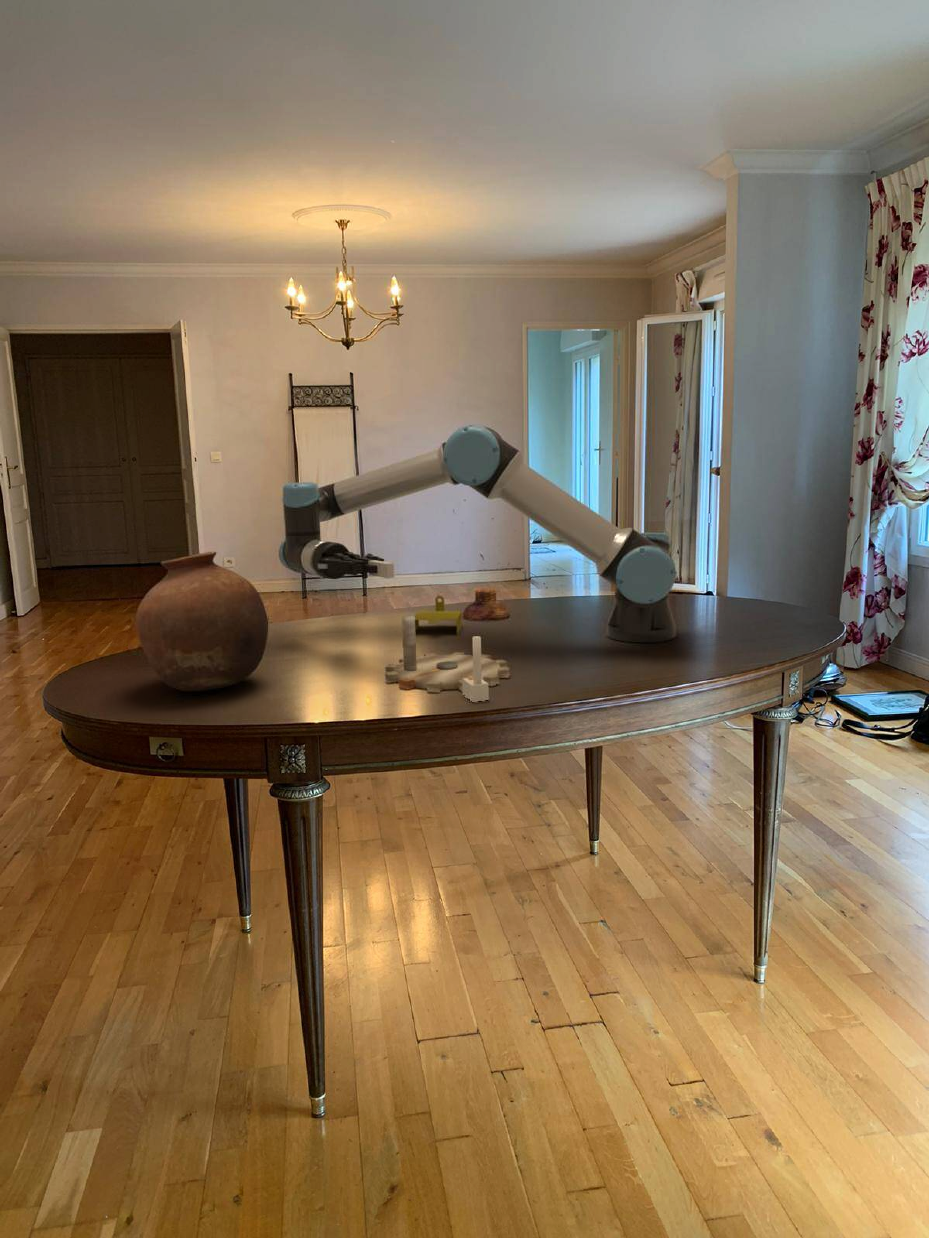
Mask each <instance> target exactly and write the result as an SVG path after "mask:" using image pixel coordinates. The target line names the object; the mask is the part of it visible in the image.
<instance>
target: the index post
mask: <svg viewBox="0 0 929 1238" xmlns="http://www.w3.org/2000/svg"><path fill="white" fill-rule="evenodd" d="M481 655H482V637H481V636H478V635H477V636H472V656H473V676H469V677H468V678H462V686H463V691H462V696H463V695H465V696H464V697H465V699H467V698H468V699H470V701H469V702H471V701H472V702H474V703H479V702H478V701H482V702H486V701H485V700H489V701H490V699H489V698H490V696H489V695H490V694H489V687H490V686H488V683H487V682H485V681H484V680H483V679H482V674H481ZM468 699H467V700H468ZM472 702H471V703H472Z"/></svg>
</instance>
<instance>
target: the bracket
mask: <svg viewBox="0 0 929 1238" xmlns="http://www.w3.org/2000/svg"><path fill="white" fill-rule="evenodd" d="M439 599H440V600H441V601H438V600H439ZM434 601H435V611H434V610H431V611H430V610H428V611H427V610H426V611H425V610H418V611H417V612H416V613H415V615H414V617H415V630H416V631H417V629H418V628H419V627H420V621H427V624H430V625H433V624H437V623H438V622H439V621H456V635H457V634H459V633H460V631H459V630H461V628H462V626H463V625H462V623H463V622H462V621H463V620H462V617H463V616H462V610H445V598H444V597H443V596H442V595H438V596H437V597H435V600H434ZM418 626H419V627H418ZM417 627H418V628H417Z"/></svg>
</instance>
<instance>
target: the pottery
mask: <svg viewBox="0 0 929 1238" xmlns="http://www.w3.org/2000/svg"><path fill="white" fill-rule="evenodd" d="M216 555H217V551H215V550H214V551H207V552H203V553H202V552H201V553H195V554H192V555H187V556H183V557H177V558H175V559H169V560H163V561H161V562H160V564H161V566H162V567H163V568H165V569H166V570H167V574H166V575H165V576H164V577H163V578H162V579H161V580H160V581H159V582H157V583H156V584H155V585H154V586H153V587H152V588H150V590H149V591H148V592H147V593H146V594H145V596H144V597H143V599H142V600H141V602H140V603H139V606H138V608H137V610H136V614H135V626H136V632H137V635H138V636H137V637H138V639H139V642H140V644H141V646H142V650H143V652H144V654H145V656H146V659H147V660H148V662H149V664H150V666H151V668H152V669H153V671H154V672H155V673H156V675H157V676H158V677H159V678H160V680H161V681H162V682H164V683H165V684H166V685H168V686H169V687H171V688H173V689H174V690H175V689H176V690H178V691H183V692H203V691H210V690H217V689H223V688H226V687H230V686H233V685H236V684H237V683H240V682H241V681H243V680H245V679H247V678H248V677H249V676H250V675H252V674H253V673H254V672H255V671H256V669H257V668H258V666H259V665H260V664H261V661H262V660H263V656H264V654H265V650H266V645H267V640H268V634H269V618H268V615H267V611H266V607H265V604H264V602H263V600H262V598H261V595H260V594H259V592H258V590H257V589H256V588H255V586H254V585H253V584H252V583H251V582H250V581H249V579H247V578H245V577H243V576H242V575H240V574H239V573H238V572H236V571H233V570H231V569H229V568H227V567H223V566H221V565H218V564H216V563H215V561H214V558H215V557H216Z"/></svg>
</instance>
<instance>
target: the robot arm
mask: <svg viewBox="0 0 929 1238" xmlns="http://www.w3.org/2000/svg"><path fill="white" fill-rule="evenodd" d="M447 483H449V484H451V485H453V486H457V485H460V484H462V485H464V486H468V487H470V488H472V490H475V491H476V492H477V493H479V494H480V495H482V496H483V497H484V498H486V499H488V500H493V499H500V500H502V501H504V502H505V503H507V504H508V505H509V506H510V507H512V508H514V509H515V510H517V511H518V512H519V513H521V514H523V515H524V516H526V517H527V518H528V519H530V520H531V521H533V522H534V523H536V524H537V525H538V526H540V527H541V528H542V529H544V530H546V531H547V532H549V533H550V534H552V535H553V536H555V537H556V538H558V540H560V541H562V542H563V543H564V544H566V545H567V546H569V547H570V548H572V549H574V550H575V551H577V552H578V553H579V554H581V555H583V556H584V557H585V558H587V559H588V560H589V561H591V562H592V563H593V564H595V566H596V572H597V575H599V576H600V577H602V578H603V579H604V580H606V581H607V582H608V583H609V584H611V585H612V586H614V602H613V605H612V608H611V611H610V615H609V617H608V619H607V620H608V621H607V623H606V636H607V638H609V639H612V640H616V641H620V642H621V641H622V642H628V643H660V642H666V641H670V640H673V639H674V638H675V637H676V631H677V630H676V623H675V620H674V617H673V613H672V611H671V607H670V604H669V593H670V591H671V590H672V588H673V587H674V584H675V581H676V575H677V570H676V564H675V562H674V559H673V558H672V556H671V555H670V547H671V542H670V536H669V534H667V532H639V531H637V530H635V529H634V528H633V527H626V528H625V527H624V528H619V527H618V526H616V525H615V524H613V523H612V522H610V521H609V520H608V519H606V518H604V516H602V515H600V514H598V513H597V512H595V510H593V509H591V508H590V507H588V506H587V505H585V504H584V503H582V502H581V501H579V500H578V499H577V498H575V497H574V496H573V495H571V494H569V493H568V492H566V491H565V490H563V489H562V488H560V487H559V486H558V485H557V484H555V483H554V482H551V480H549V479H547V478H546V477H544V476H543V475H542V474H540V473H539V472H538V471H536V470H535V469H533V468H531V467H530V465H527V464H525V463H524V461H523V456H522V452H521V451H520V450H519V449H518V448H516V447H514V446H513V445H511V444H510V443H508V442H507V441H506V440H504V439H503V438H502V437H501V435H500V434H499V433H498V432H497V431H495V430H494V429H493V428H490V427H487V426H482V425H479V424H467V425H464V426H462V427H459V428H458V429H456V430H455V431H454V432H453V433H451V435H450V436H449V437H448V438H447V440H446V442H442V443H440V446H439V447H438V449H436V450H433V451H430V452H426V453H422V454H420V455H417V456H414V457H410V458H407V459H403V460H402V461H398V462H395V463H392V464H390V465H386V466H383V467H380V468H377V469H373V470H371V471H367V472H363V473H361V474H357V475H356V476H353V477H352V476H351V477H348V478H346V479H343V480H339V481H337V482H333V483H330V484H326V485H324V486H321V487H319V486H318V485H317V484H316V483H315V482H312V481H311V482H309V481H308V482H302V481H301V482H288V483H285V484H284V485H283V486H282V504H283V505H282V507H283V518H284V529H285V530H284V531H285V532H284V533H285V535H284V538H285V539H284V540H283V541H282V542H281V543H280V546H279V549H278V559H279V561H280V563H281V565H283V567H285V568H286V569H288V570H290V571H293V572H295V573H298V574H306V575H307V574H308V575H310V576H311V575H312V576H318V578H319V580H322V579H323V578H326V579H329V580H339V579H341V578H343V577H344V576H346V575H348V576H349V575H350V576H355V577H356V576H357V575H361V578H362V579H368V575H369V576H373V577H379V578H382V579H383V578H384V579H392V578H395V572H394V571H395V567H394V565H395V564H394V562H387V561H385V559H384V558H381V557H379V556H378V555H377V556H375V555H373V553H367V554H364V555H363V557H361V554H357V553H354V552H352V551H349V549H348V547H346V545H344V544H342V543H340V542H333V541H328V540H321V523H322V522H327V521H331V520H333V519H336V518H338V517H342V516H345V515H347V514H350V513H351V514H352V513H354V512H358V511H361V510H364V509H367V508H370V507H374V506H377V505H379V504H382V503H386V502H390V501H392V500H396V499H399V498H402V497H406V496H409V495H413V494H416V493H418V492H422V491H426V490H428V489H431V488H432V489H433V488H435V487H438V486H442V485H444V484H447Z"/></svg>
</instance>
